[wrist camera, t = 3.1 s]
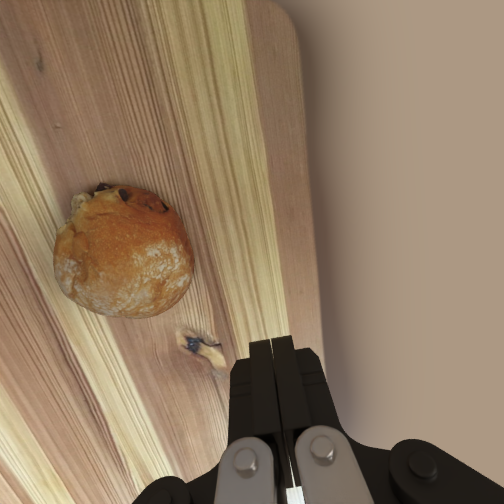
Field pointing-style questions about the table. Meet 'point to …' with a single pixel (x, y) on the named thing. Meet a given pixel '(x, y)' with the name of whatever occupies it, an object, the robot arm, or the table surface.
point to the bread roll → (123, 253)
